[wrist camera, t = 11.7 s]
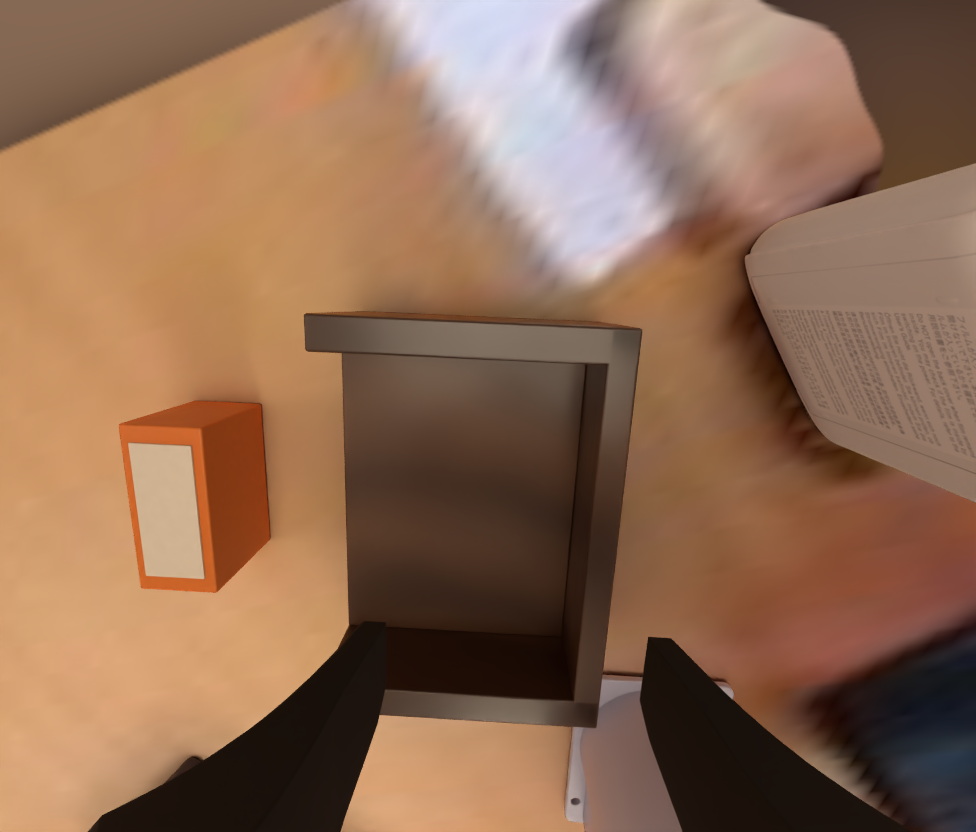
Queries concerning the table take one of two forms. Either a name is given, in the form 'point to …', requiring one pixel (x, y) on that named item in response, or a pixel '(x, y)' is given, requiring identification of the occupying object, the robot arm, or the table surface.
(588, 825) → the robot arm
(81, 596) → the table surface
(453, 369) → the shelf
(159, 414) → the packet
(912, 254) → the white piece
